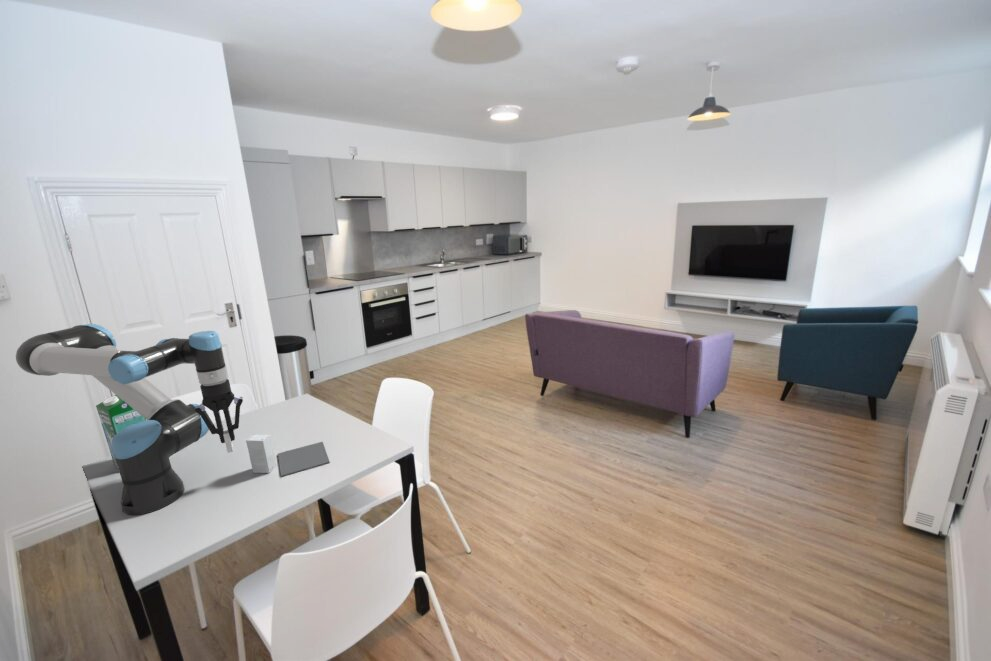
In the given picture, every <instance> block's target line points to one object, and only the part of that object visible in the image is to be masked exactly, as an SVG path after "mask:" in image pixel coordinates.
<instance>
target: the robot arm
mask: <svg viewBox="0 0 991 661" xmlns="http://www.w3.org/2000/svg"><path fill="white" fill-rule="evenodd" d="M222 345H223V344H222V343H221V339H220V337H219V333H218V332H216V331H214V330H204V331H203V330H202V331H198V332H193V333H192V334H191V333H190V335H189V336H188V338H178V337H172V338H170V337H169V338H165V339H161V340H159V341H158V342H157V343H156V344H155V345H153V346H152V345H151V346H150V347H147V348H143V349H141V350H140V349H139V350H136V351H135V350H134V351H133V350H118V348H117V342H116V339H115V338H114V335H113V333H111V331H109V329H107V328H105V327H104V326H102V325H101V324H100V325H99V324H96V323H87V324H79V325H75V326H74V325H73V326H72V327H69V328H65V329H60V330H56V331H52V332H48V333H42V334H38V335H34V336H32V337H29V338H28V339H26V340H25V341H23V342H22V343H21V344H20V346H18V347H17V350H16V351H15V352H16V353H15V361H16V363H17V365H18V367H19V368H20V369H22V370H23V371H24V372H26V373H28V374H32V375H36V376H45V377H46V376H47V377H48V376H56V375H58V374H67V375H68V374H70V375H83V376H85V375H86V376H92V377H93V378H94V379H96V380H97V381H98V382H99V383H101V384H102V385H103V386H104V387H106V388H107V389H109V390H110V392H112V393H113V394H114V396H115V395H117V396H118V397H119V398H120V399H122V400H123V401H124V402H125V403H127V404H128V405H129V406H130V407H132V408H133V409H134V410H135V411H136V412H138V413H139V414H140V415H141V416H143V417H144V418H145V419H146V421H142V422H139V423H137V424H132V425H130V426H128V427H126V428H124V429H123V430H121V431H120V432H118V433H117V434H116V435H115V436H114V438H113V440H112V449H113V456H114V457H115V459H116V463H117V466H116V467H117V469H118V473H119V475H120V479H121V481H122V492H121V500H120V506H121V508H122V509H121V510H122V511H123V513H124V514H126V515H130V516H137V515H138V516H139V515H143V514H149V513H151V512H155V511H158V510H160V509H162V508H165V507H167V506H169V505H171V504H172V503H174V502H175V501H176V500H178V499H179V498H181V496H182V495H183V494H184V493H185V485H184V482H183V480H182V478H181V477H180V476H179V475H178V474H177V473H176V471H175V470H174V468H173V467H172V464H171V461H170V457H172V456H173V455H175V454H177V453H178V452H180V451H182V450H183V449H186V448H187V447H189V446H190V445H192V444H194V443H196V442H199V440H200V439H202V438H203V437H204V436H207V434H208V432H210V433H211V434H212V435H216V434H217V435H219V440H220V443H221V444H225V448H226V451H227V452H226V453H227V454H229V453H233V452H234V445H233V442H234V441H235V439H236V437H235V431H236V430H237V429H239V427H240V426H239V425H240V413H241V406H242V404H243V402H244V397H242V396H235V394H234V393H233V391H232V389H231V383H230V380H229V379H228V378H229V375H228V369H227V366H226V362H225V358H224V357H225V356H224V353H223V347H222ZM182 364H186V365H187V364H188V365H189V364H193V365H194V366H195V371H196V373H197V374H196V375H197V380H198V384H200V392H201V395H202V400H201V403H200V404H197V403H189V404H186V403H184V402H183V401H182V400H181V399H179V398H176V399H171V398H170V397H169V396H167V395H166V394H165V393H164V392H163V391H161V390H160V389H159V388H157V386H155V385H154V384H153V383H151V382H150V381H149V379H147V378H148V377H150V376H153V375H155V374H158V373H160V372H164V371H165V370H166V371H167V370H168V369H171V368H174V367H176V366H179V365H182ZM233 402H234V404H235V411H234V413H235V414H234V423H233V422H232V419H231V418H232V417H231V414H230V410H229V408H230V406H231V405H232V403H233ZM206 408H207V409H209V410H210V411H211V412H212V413H213V416H214V420H215V424H216V425H214V423H213V421H212V419H211V418H210V415H209V414H208V412H207V410H206ZM220 411H222V412H223V415H224V419H225V423H226V430H224V425H223V421H222V418H221V413H220Z"/></svg>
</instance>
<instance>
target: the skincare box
mask: <svg viewBox="0 0 991 661" xmlns="http://www.w3.org/2000/svg"><path fill="white" fill-rule="evenodd" d="M245 442H246V446H247V447H246V448H247V450H248V454H249V455H248V457H249V460H250V464H251V465H250V466H251V469H252V472H253V473H254V474H266V473H267V474H271V472H272V471H273V470H274V469H275V468H276V467H277V462H276V457H275V452H274V448H273V442H272V438H271V435H270V434H253V435H251V436H250V437H249V438H247V439H246V440H245Z"/></svg>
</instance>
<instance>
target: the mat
mask: <svg viewBox="0 0 991 661" xmlns="http://www.w3.org/2000/svg"><path fill="white" fill-rule="evenodd" d="M277 456H278V457H277V458H278V464H279V470H280V477H281V478H284V477H286V476H290V475H294V474H297V473H300V472H303V471H308V470H310V469H315V468H317V467H321V466H323V465H328V464H330V463H331V462H330V459H329V456H328V454H327V451H326V447H325V445H324V442H323V441H320V442H315V443H313V444H308V445H304V446H300V447H297V448H294V449H290V450H286V451H283V452H282V451H281V452H279V453H277Z"/></svg>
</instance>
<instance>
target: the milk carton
mask: <svg viewBox="0 0 991 661" xmlns="http://www.w3.org/2000/svg"><path fill="white" fill-rule="evenodd" d="M95 408H96V410H97V415H98V418H99V420H100V424H101V427H102V430H103V433H104V436H105V440H106V442H107V446H108V449H109V454H110V456H111V459H112V463H113V465H115V466H116V467H118V466H117V463H116V459H115V457H114V456H113V449H112V440H113V438H114V436H115V435H116V434H117V433H118V432H120V431H121V430H123V429H124V428H126V427H128V426H130V425H132V424H137V423H139V422H142V421H146V419H145V418H144V417H143V416H141V415H140V414H139V413H138V412H136V411H135V410H134V409H133V408H132V407H130V406H129V405H128V404H127V403H125V402H124V401H123V400H122V399H120V398H119V397H118V396H117V395H115V394H114V395H113V396H111V397H108V398H106V399H104V401H102V402H100V403H98V404H97V405H95Z"/></svg>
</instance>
